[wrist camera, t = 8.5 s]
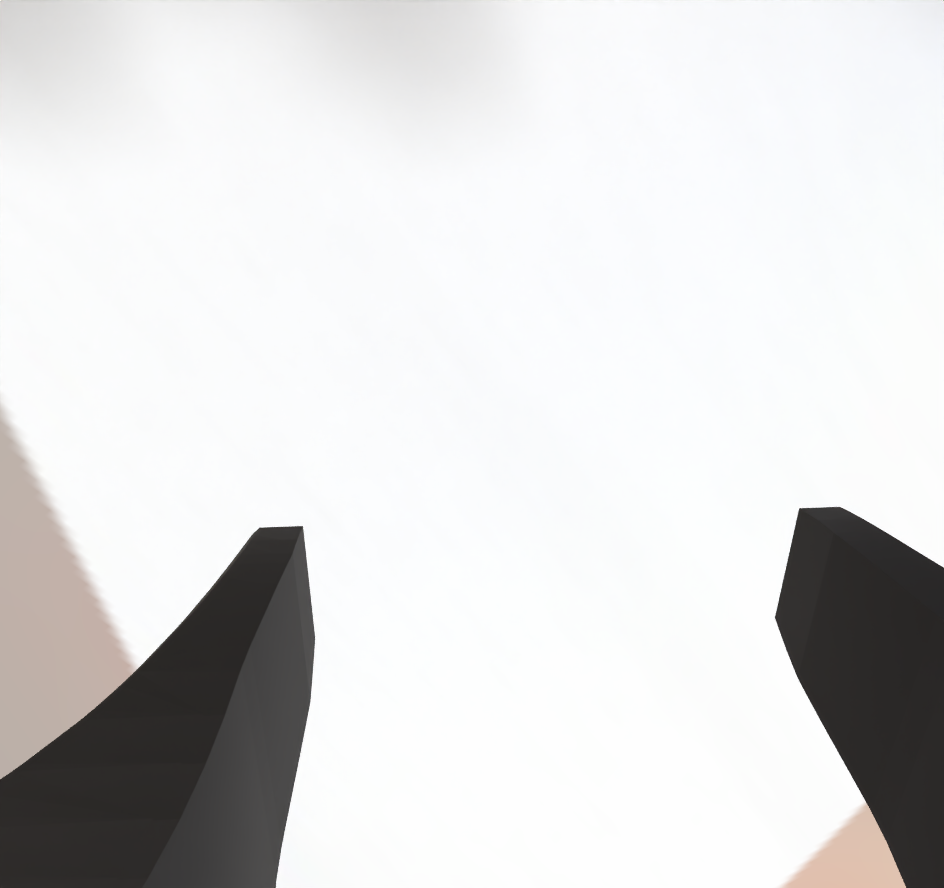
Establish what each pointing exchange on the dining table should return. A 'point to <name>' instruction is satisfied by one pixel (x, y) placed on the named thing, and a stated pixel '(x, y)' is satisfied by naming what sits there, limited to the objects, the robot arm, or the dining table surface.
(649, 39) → the dining table surface
